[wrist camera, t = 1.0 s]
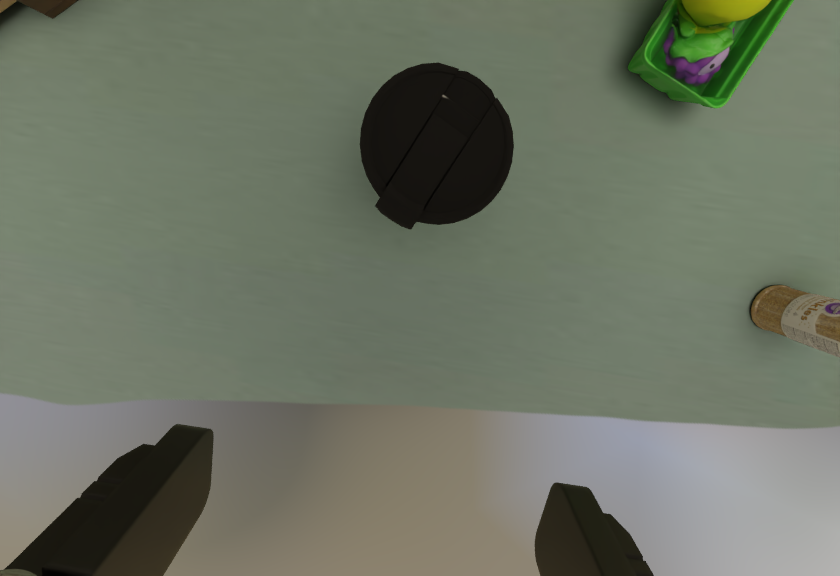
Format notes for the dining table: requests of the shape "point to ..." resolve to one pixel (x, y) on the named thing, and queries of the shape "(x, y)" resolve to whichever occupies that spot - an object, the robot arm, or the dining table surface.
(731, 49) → the fruit basket
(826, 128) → the dining table surface
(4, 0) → the drawer
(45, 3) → the cabinet
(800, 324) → the sprinkles bottle
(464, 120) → the travel mug
